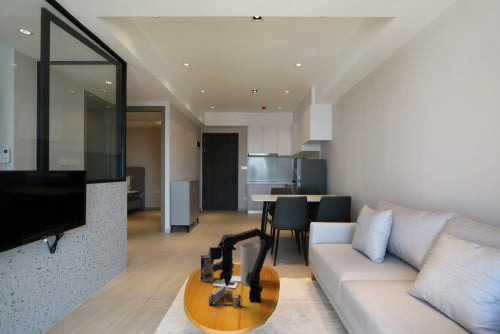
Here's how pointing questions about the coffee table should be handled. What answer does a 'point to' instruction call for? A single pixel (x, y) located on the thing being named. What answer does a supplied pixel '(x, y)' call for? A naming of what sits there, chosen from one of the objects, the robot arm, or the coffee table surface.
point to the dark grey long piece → (237, 303)
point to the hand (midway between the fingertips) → (227, 285)
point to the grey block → (218, 293)
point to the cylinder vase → (248, 259)
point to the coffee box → (206, 269)
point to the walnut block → (228, 295)
